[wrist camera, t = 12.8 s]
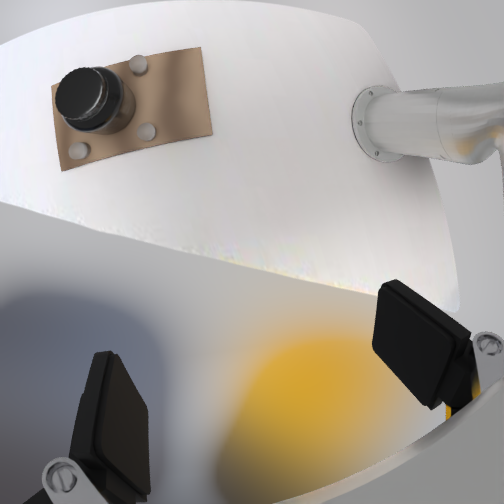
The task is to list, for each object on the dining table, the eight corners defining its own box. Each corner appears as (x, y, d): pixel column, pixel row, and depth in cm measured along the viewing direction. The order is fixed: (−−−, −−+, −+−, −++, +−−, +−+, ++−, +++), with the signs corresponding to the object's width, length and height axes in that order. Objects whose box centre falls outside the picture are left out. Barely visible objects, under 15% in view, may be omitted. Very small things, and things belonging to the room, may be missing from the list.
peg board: (199, 50, 30) (202, 38, 26) (211, 135, 34) (215, 132, 30) (55, 87, 26) (42, 81, 22) (65, 170, 31) (52, 173, 27)
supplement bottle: (105, 74, 27) (75, 44, 16) (147, 98, 29) (132, 74, 18) (75, 121, 28) (32, 111, 17) (116, 145, 30) (86, 144, 19)
